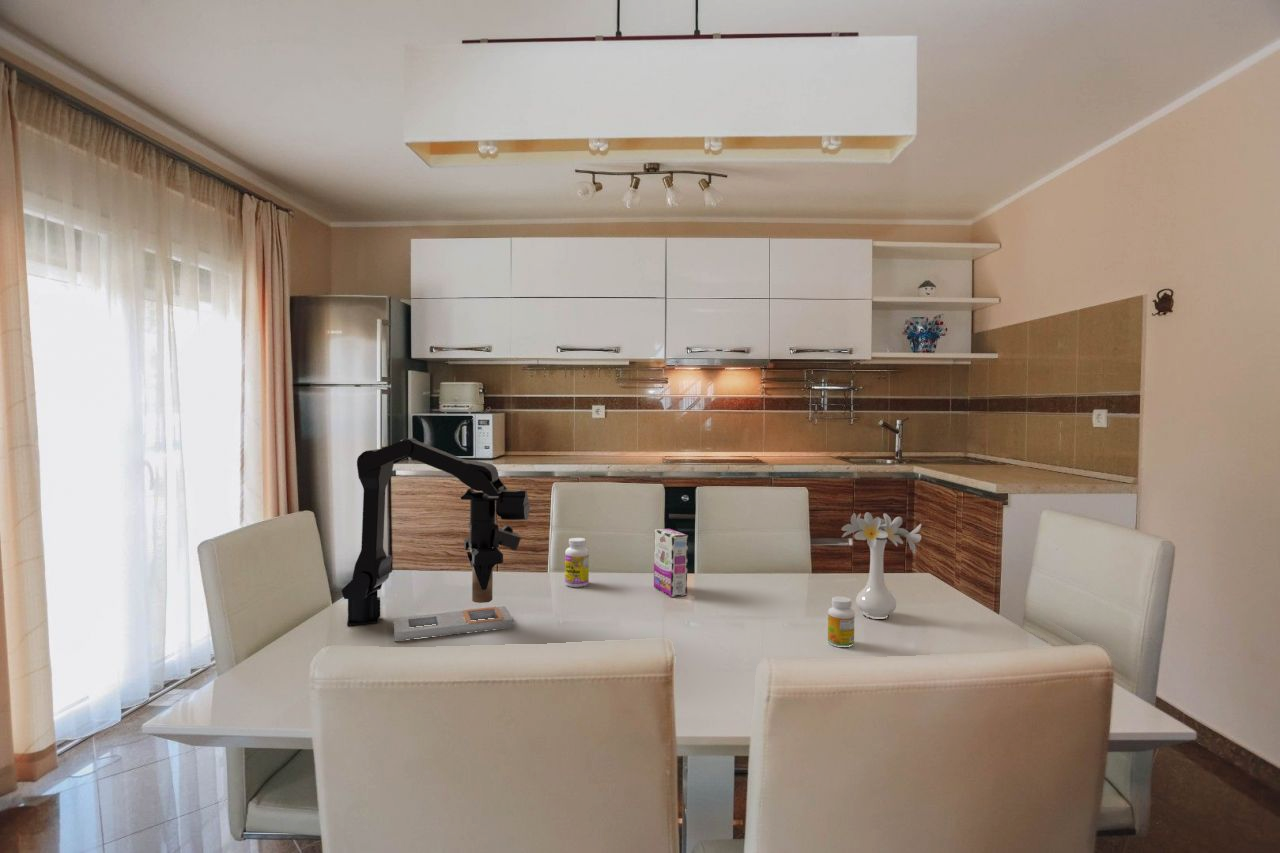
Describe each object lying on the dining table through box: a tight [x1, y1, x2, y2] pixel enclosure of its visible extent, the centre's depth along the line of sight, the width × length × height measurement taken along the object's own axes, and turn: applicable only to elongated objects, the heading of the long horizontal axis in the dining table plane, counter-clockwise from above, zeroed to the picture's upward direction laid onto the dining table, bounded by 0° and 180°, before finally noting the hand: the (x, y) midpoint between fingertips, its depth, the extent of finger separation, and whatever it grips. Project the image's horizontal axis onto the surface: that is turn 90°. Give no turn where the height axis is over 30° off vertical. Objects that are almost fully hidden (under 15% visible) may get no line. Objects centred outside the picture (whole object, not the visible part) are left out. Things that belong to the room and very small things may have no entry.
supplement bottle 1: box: [564, 537, 590, 588], centre depth 181 cm, size 7×7×13 cm
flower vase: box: [841, 511, 923, 617], centre depth 157 cm, size 13×18×25 cm
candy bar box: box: [653, 528, 689, 598], centre depth 176 cm, size 11×5×16 cm, turn 25°
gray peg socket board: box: [393, 605, 514, 642], centre depth 146 cm, size 25×10×2 cm, turn 112°
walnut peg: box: [471, 566, 494, 604], centre depth 148 cm, size 4×4×9 cm
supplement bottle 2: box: [827, 596, 855, 646], centre depth 138 cm, size 5×5×10 cm
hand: (482, 586), depth 148 cm, fingers closed on walnut peg, 4 cm apart
